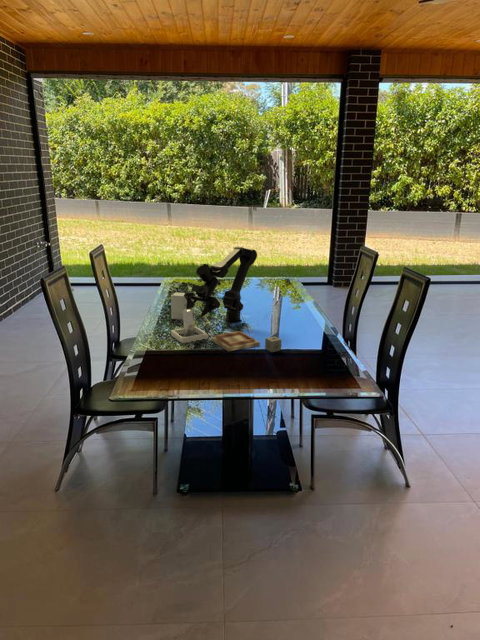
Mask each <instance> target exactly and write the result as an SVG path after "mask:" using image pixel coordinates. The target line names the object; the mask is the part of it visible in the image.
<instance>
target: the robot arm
mask: <svg viewBox="0 0 480 640" xmlns="http://www.w3.org/2000/svg"><path fill="white" fill-rule="evenodd" d="M257 257H258V252H257V251H256V249H251V248H250V249H249V248H245V247H243V246H235V247H234V248H233V250H231V251H230V252H229V253H228V254H227V255H226V256H225V257H224V258H222V260H220V261H217V262H215V263H214V264H212V265H211V266H209V264H208V263H203V265H200V266H199V267H198V268H197V269H196V271H195V273H196V275H197V276H198V277H199V279H200V280H201V281H202V282H204V283H203V284H202V285H199V284H194V283H193V284H192V286H191V290H190V291H186V292H184V293H185V294H184V297H185V299H186V300H187V306H186V309H193V308H194V307H195V305H196V303H197V301H198V302H203V303H205V305H204V308H203V309H202V311H201V313H200V317H201V318H203V317H205V316H206V315H207V314H209V313H211V312H212V311H214V310H217V309H219V308H220V307H221V302H220V301H219V299H218V298H217V297H216V296H215V297H214V295H215V290H216V288H217V286H221V285H222V283H221V279H224V278H225V277H226V275H227V274H228V273H229V269H230V267H232V265H234V264H235V262H237V261H238V260H239V265H238V268H237V272H236V274H235V277H234V280H233V282H232V284H231V287H230V289H229V290H225V292H224V295H223V297H222V298H223V299H222V304H223V308H224V309H226V312H225V321H227V322H229V323H232V324H233V323H238V322H242V320H243V319H241V311H242V310H244V304H243V302H241V300H242V297H241V291H242V288H243V285H244V282H245V279H246V277H247V274H248V271H249V269H250V267H252V265H253V264H254V263H255V262H256V260H257ZM219 278H220V279H219Z"/></svg>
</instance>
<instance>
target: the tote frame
mask: <svg viewBox="0 0 480 640" xmlns="http://www.w3.org/2000/svg"><path fill="white" fill-rule="evenodd" d="M194 330H195V333H196V335H194V336H188V337H184V336H182V335H184V327H183V328H178V329H171V330H170V332H171V334H170V335H171V337H173V338H174V339H176V340H177V341H179V342H180V343H181V344H187V343H192V342H191V341H193V342H197V341H196V340H199V341H203V340H202V339H205V340H208V333H207V332H206V331H203V330H202V329H200V328H199V327H198V326H195V325H194ZM197 333H198V334H197ZM179 334H180V335H179ZM186 342H187V343H186Z"/></svg>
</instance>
